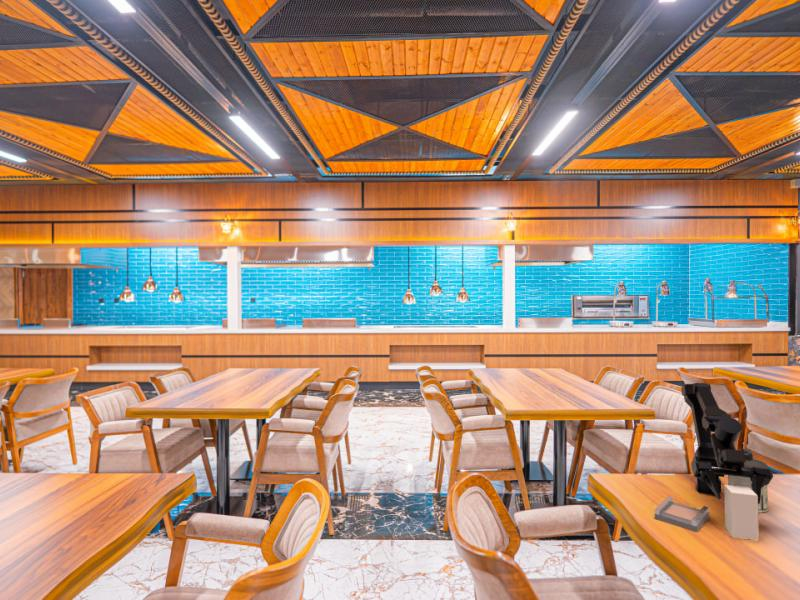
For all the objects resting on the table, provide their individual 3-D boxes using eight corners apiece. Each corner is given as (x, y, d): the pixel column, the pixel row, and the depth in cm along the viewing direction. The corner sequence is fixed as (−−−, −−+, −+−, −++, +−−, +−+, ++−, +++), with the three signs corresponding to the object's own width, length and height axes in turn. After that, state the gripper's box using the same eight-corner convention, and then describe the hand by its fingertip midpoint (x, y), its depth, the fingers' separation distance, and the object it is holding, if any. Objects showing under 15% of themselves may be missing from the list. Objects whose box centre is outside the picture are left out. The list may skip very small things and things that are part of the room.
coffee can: (724, 496, 149) (723, 454, 149) (762, 502, 145) (761, 458, 145) (732, 509, 140) (731, 464, 140) (773, 515, 135) (772, 469, 136)
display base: (697, 531, 126) (696, 521, 126) (654, 518, 134) (654, 508, 134) (709, 517, 135) (708, 507, 135) (668, 505, 143) (668, 496, 143)
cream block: (725, 527, 128) (724, 484, 128) (750, 531, 126) (749, 487, 126) (732, 537, 123) (731, 492, 123) (758, 541, 120) (757, 495, 121)
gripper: (694, 434, 134) (705, 483, 124) (769, 440, 128) (788, 493, 117) (688, 452, 142) (698, 500, 131) (759, 459, 135) (776, 510, 124)
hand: (739, 501), depth 126 cm, fingers open, 9 cm apart
